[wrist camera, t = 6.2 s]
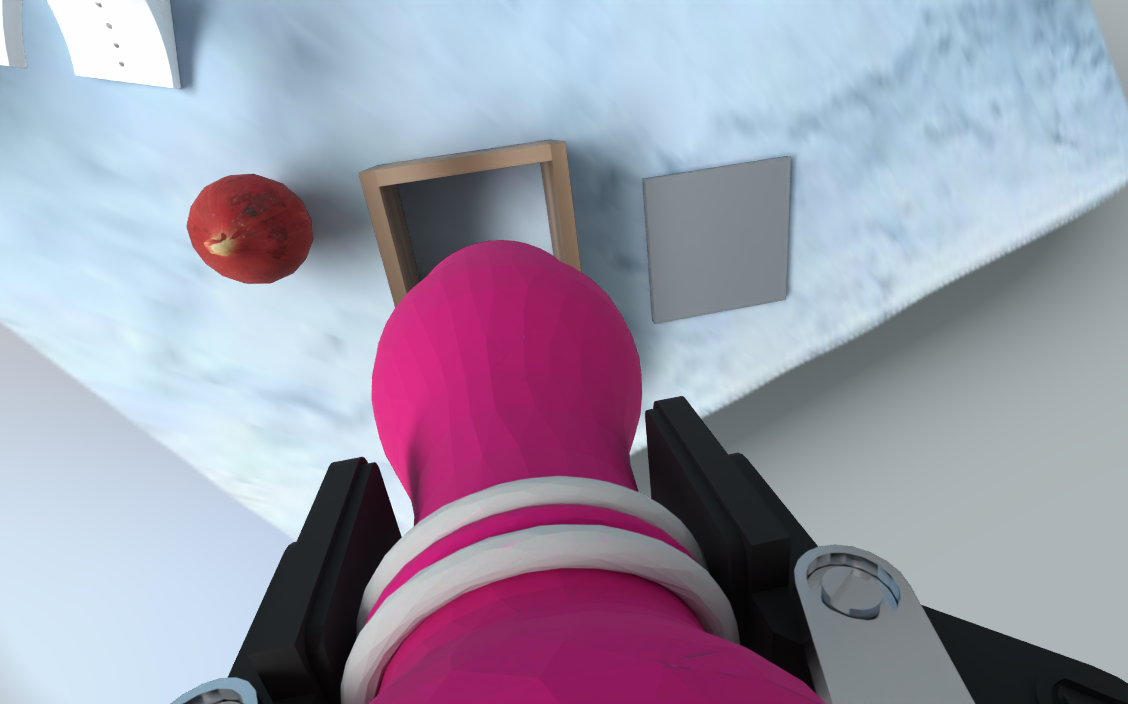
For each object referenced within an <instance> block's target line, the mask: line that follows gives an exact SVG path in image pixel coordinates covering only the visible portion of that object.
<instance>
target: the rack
mask: <svg viewBox="0 0 1128 704" xmlns="http://www.w3.org/2000/svg"><path fill="white" fill-rule="evenodd" d="M537 162H540V163H541V170H542V177H543V184H544V192H545V199H546V206H547V213H548V220H549V227H550V234H551V241H552V248H553V255H554V257H555V258H557V259H558V260H559V261H561V262H563V263H565V264H567V265H570V266H572V267H574V268H575V269H577V270H578V271H580V272H581V266H580V258H579V250H578V242H577V234H576V226H575V218H574V209H573V201H572V193H571V185H570V177H569V169H568V160H567V152H566V144H565V142H563V141H556V140H544V141H537V142H530V143H524V144H517V145H510V146H504V147H497V148H490V149H483V150H477V151H470V152H463V153H456V154H450V155H443V156H436V157H430V158H423V159H416V160H409V161H403V162H396V163H389V164H382V165H377V166H374V167H372V168H369V169H367V170H364V171H361V172H359V177H360V180H361V184H362V188H363V191H364V195H365V199H366V202H367V206H368V210H369V213H370V217H371V221H372V224H373V228H374V232H375V235H376V239H377V243H378V246H379V250H380V254H381V257H382V261H383V265H384V268H385V272H386V276H387V279H388V283H389V287H390V290H391V294H392V297H393V301H394V305H395V308H396V306H397V305H398V304H399V303H400V301H401V300H402V299H403V298H404V297H405V296H406V294H407V293H408V292H409V291H410V290H411V289H412V288H413V287H414V286H416V285H417V284H418V283H419V282H420V278H419V274H418V270H417V266H416V262H415V258H414V254H413V250H412V246H411V242H410V238H409V234H408V229H407V225H406V221H405V217H404V213H403V209H402V205H401V201H400V197H399V193H398V189H397V185H396V184H399V183H406V182H413V181H419V180H426V179H432V178H439V177H445V176H452V175H458V174H465V173H472V172H478V171H485V170H491V169H498V168H504V167H511V166H518V165H524V164H531V163H537Z"/></svg>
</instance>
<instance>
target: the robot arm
mask: <svg viewBox="0 0 1128 704" xmlns="http://www.w3.org/2000/svg"><path fill="white" fill-rule="evenodd" d="M645 421H646V434H647V447H648V459H649V472H650V485H651V499H652V500H654V501H656V502H657V503H659V504H661V505H662V506H663V507H665V508H666V509H667V510H668V511H670V512H671V513H672V514H673V515H675V516H676V517H677V518H678V519H680V520H681V522H682V523H683V524H684V525H685V526H686V528H687V529H688V530H689V531H690V532H691V534H692V535H693V537H694V538H695V540H696V542H697V543H698V545H699V546H700V548H701V550H702V552H703V555H704V557H705V560H706V563H707V566H708V570H709V574H710V575H711V576H712V578H713V579H714V580H715V581H716V583H717V584H718V585H719V587H720V588H721V590H722V591H723V593H724V594H725V596H726V597H727V599H728V600H729V602H730V605H731V607H732V610H733V613H734V616H735V619H736V621H737V626H738V632H739V640H740V645H741V646H743V647H746V648H748V649H749V650H751V651H753V652H754V653H756V654H758V655H759V656H761V657H763V658H764V659H766V660H768V661H769V662H771V663H773V664H775V665H776V666H778V667H780V668H781V669H783V670H785V671H786V672H788V673H790V674H791V675H793V676H795V677H796V678H798V679H800V680H801V681H803V682H804V683H805V684H806V685H807V686H808V687H809V688H810V689H812V690H813V691H814V692H815V693H816V694H817V695H818V696H819V697H820V698H821V699H822V700H823V701H824V702H825V703H826V704H1128V683H1126V682H1125V681H1123V680H1122V679H1120V678H1118V677H1116V676H1114V675H1112V674H1110V673H1107V672H1105V671H1103V670H1101V669H1098V668H1096V667H1094V666H1091V665H1089V664H1086V663H1083V662H1080V661H1077V660H1075V659H1072V658H1069V657H1066V656H1063V655H1061V654H1058V653H1055V652H1052V651H1049V650H1047V649H1043V648H1041V647H1038V646H1035V645H1032V644H1030V643H1027V642H1024V641H1021V640H1018V639H1015V638H1013V637H1010V636H1007V635H1004V634H1002V633H999V632H996V631H993V630H990V629H988V628H984V627H982V626H979V625H976V624H974V623H971V622H968V621H965V620H962V619H960V618H957V617H954V616H951V615H948V614H945V613H943V612H939V611H937V610H934V609H931V608H929V607H926V606H923V605H921V604H920V602H919V600H918V598H917V596H916V595H915V593H914V591H913V589H912V587H911V586H910V584H909V583H908V581H907V580H906V579H905V577H904V576H903V575H902V574H901V572H900V571H899V570H897V569H896V568H895V567H893V566H892V565H891V564H890V563H889V562H887V561H886V560H884V559H882V558H880V557H879V556H877V555H875V554H873V553H871V552H869V551H865V550H862V549H859V548H856V547H852V546H843V545H827V546H819V547H818V546H817V544H816V543H815V542H814V541H813V540H812V538H811V537H810V536H809V535H808V533H807V532H806V531H805V530H804V528H803V527H802V526H801V525H800V524H799V523H798V521H797V520H796V519H795V518H794V516H793V515H792V514H791V512H790V511H789V510H788V509H787V507H786V506H785V505H784V504H783V503H782V502H781V500H780V499H779V498H778V496H777V495H776V494H775V493H774V491H773V490H772V489H771V488H770V487H769V485H768V484H767V483H766V482H765V480H764V479H763V478H762V477H761V475H760V474H759V473H758V472H757V470H756V469H755V468H754V467H753V466H752V464H751V463H750V462H749V461H748V459H747V458H746V457H745V456H743V454H740V453H734V454H730V455H728V454H727V452H726V451H725V450H724V449H723V447H722V446H721V445H720V443H719V442H718V441H717V439H716V438H715V437H714V435H713V434H712V433H711V431H710V430H709V429H708V427H707V426H706V425H705V424H704V422H703V421H702V420H701V418H700V417H699V416H698V414H697V413H696V412H695V410H694V409H693V408H692V407H691V405H690V404H689V403H688V401H687V400H686V399H685V398H684V397H683V396H680V397H674V398H669V399H664V400H658V401H655V402H654V406H653V409H650V410H646V412H645ZM401 538H402V537H401V534H400V531H399V528H398V525H397V521H396V518H395V515H394V512H393V509H392V506H391V503H390V500H389V497H388V494H387V491H386V488H385V484H384V481H383V478H382V475H381V472H380V469H379V467H378V465H377V463H375V462H373V463H368V462H367V460H366V459H365V458H364V457H359V458H354V459H348V460H343V461H338V462H333V463H331V464H330V466H329V468H328V470H327V473H326V475H325V477H324V479H323V482H322V484H321V486H320V489H319V491H318V493H317V496H316V498H315V500H314V503H313V505H312V507H311V510H310V512H309V514H308V517H307V519H306V521H305V523H304V526H303V528H302V530H301V533H300V535H299V537H298V540H297V542H293V543H291V544H290V545H289V546H288V547H287V548H286V550H285V552H284V554H283V556H282V558H281V560H280V563H279V565H278V567H277V569H276V571H275V574H274V576H273V578H272V580H271V582H270V585H269V587H268V589H267V592H266V594H265V596H264V598H263V600H262V603H261V605H260V607H259V609H258V611H257V613H256V616H255V618H254V620H253V622H252V625H251V627H250V629H249V631H248V634H247V636H246V638H245V640H244V642H243V645H242V647H241V649H240V651H239V653H238V656H237V658H236V660H235V662H234V664H233V667H232V669H231V671H230V673H229V676H228V678H219V679H217V680H213V681H210V682H207V683H204V684H201V685H200V686H198V687H196V688H194V689H192V690H190V691H188V692H186V693H185V694H183V695H181V696H180V697H179V698H177V699H176V700H175V701H173V702H172V703H171V704H341V682H342V678H343V674H344V669H345V665H346V662H347V659H348V657H349V655H350V653H351V650H352V648H353V646H354V643H355V641H356V638H357V617H358V613H359V609H360V605H361V602H362V598H363V595H364V591H365V588H366V587H367V585H368V583H369V581H370V580H371V578H372V576H373V574H374V573H375V571H376V569H377V568H378V566H379V564H380V563H381V561H382V560H383V558H384V556H385V555H386V554H387V553H388V552H389V551H390V550H391V548H392V547H393V546H394V545H395V544H396V543H397V542H398V541H399V540H400V539H401Z"/></svg>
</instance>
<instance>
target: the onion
mask: <svg viewBox="0 0 1128 704" xmlns="http://www.w3.org/2000/svg"><path fill="white" fill-rule="evenodd" d="M187 230H188V233H189V236H190V239H191V243H192V246H193V248H194V249H195V250H196V252H197V253H198V254H199V256H200V257H201V258H202V260H203V261H204V262H205V263H206V264H207V265H208V266H210V267H211V268H212V269H214V270H215V271H217V272H218V273H219V274H221V275H222V276H224V277H227V278H230V279H233V280H236V281H239V282H242V283H247V284H264V283H273V282H275V281H277V280H279V279H282V278H284V277H286V276H288V275H290V274H293V273H294V272H295V271H296V270H297V269H298V268H299V266H300V265H301V264H302V263H303V262H304V261H305V259H306V257H307V255H308V253H309V250H310V247H311V244H312V241H313V233H312V221H311V218H310V216H309V214H308V212H307V210H306V208H305V206H304V204H303V202H302V200H301V199H300V198H299V197H298V196H297V195H295V194H294V193H293V192H292V191H291V190H290V189H288V188H287V187H286V186H285V185H284V184H283V183H280V182H277V181H274V180H271V179H268V178H265V177H262V176H259V175H256V174H243V175H230V176H227V177H224V178H222V179H220V180H218V181H216V182H214V183H212V184H210V185H208V186H206V187H204V189H203V190H202V191H201V193H200V194H199V195H198V197H197V198H196V200H195V201H194V203H193V204H192V206H191V208H190V213H189V217H188V222H187Z"/></svg>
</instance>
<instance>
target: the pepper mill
mask: <svg viewBox="0 0 1128 704" xmlns="http://www.w3.org/2000/svg"><path fill="white" fill-rule="evenodd" d="M641 400H642V378H641V368H640V361H639V355H638V352H637V349H636V346H635V343H634V340H633V337H632V335H631V333H630V331H629V329H628V327H627V325H626V323H625V321H624V319H623V317H622V315H621V313H620V312H619V310H618V309H617V307H616V306H615V305H614V303H613V302H612V300H611V299H610V297H609V296H608V295H607V294H606V293H605V292H604V291H603V290H602V289H601V288H600V287H599V286H598V285H597V284H596V283H595V282H594V281H593V280H592V279H590V278H589V277H587V276H586V275H584V274H583V273H581V272H580V271H578V270H577V269H575V268H574V267H572V266H570V265H567V264H565V263H563V262H561V261H559V260H558V259H557V258H555V257H554V256H553V255H551V254H550V253H548V252H546V251H544V250H542V249H540V248H537V247H535V246H532V245H529V244H526V243H521V242H516V241H507V240H497V241H486V242H481V243H476V244H473V245H470V246H467V247H464V248H462V249H460V250H458V251H456V252H454V253H452V254H451V255H449V256H448V257H446V258H445V259H444V260H442V261H441V262H440V263H439V264H438V265H437V266H435V267H434V269H433V270H432V271H431V272H430V273H429V274H428V276H427V277H425V278H424V279H423V280H422V281H421V282H419V283H418V284H417V285H416V286H414V287H413V288H412V289H411V290H410V291H409V292H408V293H407V294H406V296H405V297H404V298H403V299H402V300H401V301H400V303H399V304H398V305H397V306H396V308H395V309H394V311H393V313H392V314H391V316H390V318H389V319H388V321H387V323H386V325H385V327H384V330H383V333H382V335H381V338H380V341H379V343H378V348H377V354H376V359H375V364H374V369H373V374H372V405H373V410H374V416H375V421H376V425H377V429H378V434H379V438H380V441H381V443H382V446H383V449H384V452H385V455H386V457H387V459H388V460H389V462H390V464H391V466H392V467H393V469H394V471H395V473H396V475H397V476H398V478H399V480H400V482H401V483H402V485H403V487H404V489H405V491H406V492H407V494H408V496H409V498H410V499H411V502H412V506H413V511H414V527H413V528H412V529H411V530H410V531H408V532H407V533H406V534H405V535H404V536H403V537H402V538H401V539H400V540H399V541H398V542H397V543H396V544H395V545H394V546H393V547H392V548H391V550H390V551H389V552H388V553H387V554H386V555H385V556H384V558H383V560H382V561H381V563H380V564H379V566H378V568H377V569H376V571H375V573H374V574H373V576H372V578H371V580H370V581H369V583H368V585H367V587H366V588H365V591H364V595H363V598H362V602H361V605H360V609H359V613H358V617H357V638H356V641H355V643H354V646H353V648H352V650H351V653H350V655H349V657H348V659H347V662H346V665H345V669H344V674H343V678H342V682H341V704H826V703H825V702H824V701H823V700H822V699H821V698H820V697H819V696H818V695H817V694H816V693H815V692H814V691H813V690H812V689H810V688H809V687H808V686H807V685H806V684H805V683H804V682H803V681H801V680H800V679H798V678H796V677H795V676H793V675H791V674H790V673H788V672H786V671H785V670H783V669H781V668H780V667H778V666H776V665H775V664H773V663H771V662H769V661H768V660H766V659H764V658H763V657H761V656H759V655H758V654H756V653H754V652H753V651H751V650H749V649H748V648H746V647H743V646H741V645H740V640H739V632H738V626H737V621H736V619H735V616H734V613H733V610H732V607H731V605H730V602H729V600H728V599H727V597H726V596H725V594H724V593H723V591H722V590H721V588H720V587H719V585H718V584H717V583H716V581H715V580H714V579H713V578H712V576H711V575H710V574H709V570H708V566H707V563H706V560H705V557H704V555H703V552H702V550H701V548H700V546H699V545H698V543H697V542H696V540H695V538H694V537H693V535H692V534H691V532H690V531H689V530H688V529H687V528H686V526H685V525H684V524H683V523H682V522H681V520H680V519H678V518H677V517H676V516H675V515H673V514H672V513H671V512H670V511H668V510H667V509H666V508H665V507H663V506H662V505H661V504H659V503H657V502H656V501H654V500H652V499H650V498H649V497H647V496H645V495H644V494H641V493H639V492H638V489H637V485H636V482H635V478H634V475H633V472H632V469H631V465H630V454H629V453H630V449H631V446H632V443H633V440H634V437H635V433H636V429H637V425H638V422H639V418H640V413H641Z"/></svg>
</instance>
